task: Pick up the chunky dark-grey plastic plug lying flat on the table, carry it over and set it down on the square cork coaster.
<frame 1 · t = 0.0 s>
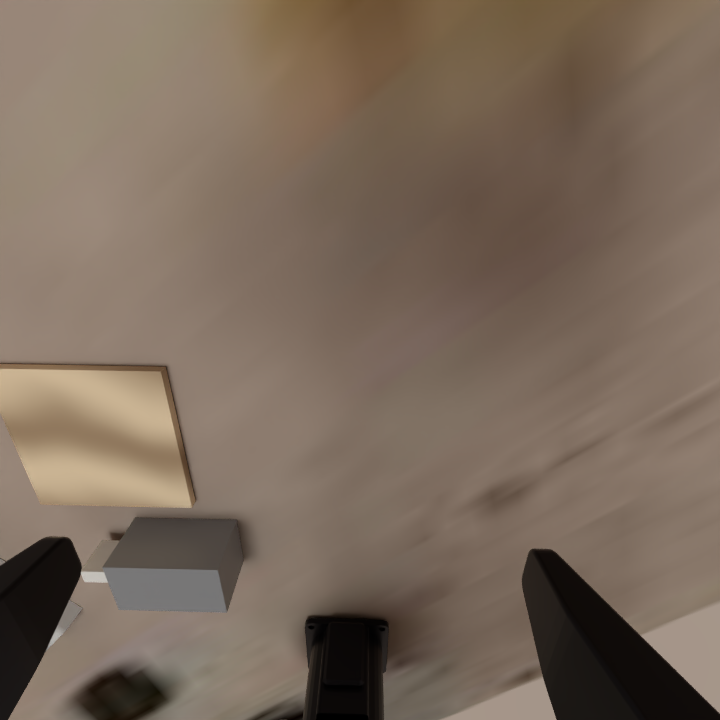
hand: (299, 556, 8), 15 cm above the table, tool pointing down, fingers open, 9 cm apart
plug: (174, 541, 26), point 2 cm above the table, tilted 90°
coaster: (101, 438, 25), on the table
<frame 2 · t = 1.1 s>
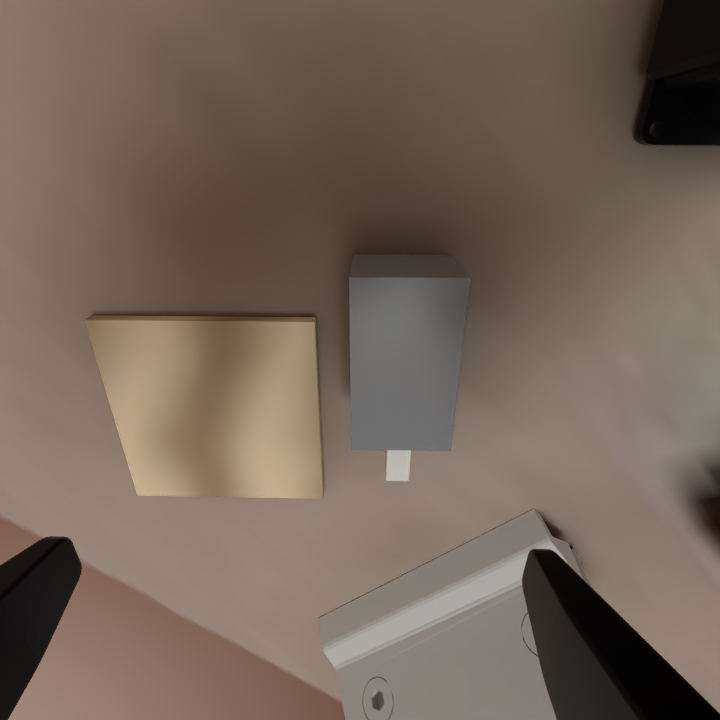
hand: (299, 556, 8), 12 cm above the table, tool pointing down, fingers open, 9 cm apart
plug: (352, 349, 17), point 2 cm above the table, tilted 90°
coaster: (220, 411, 20), on the table
hinge: (450, 595, 27), on the table
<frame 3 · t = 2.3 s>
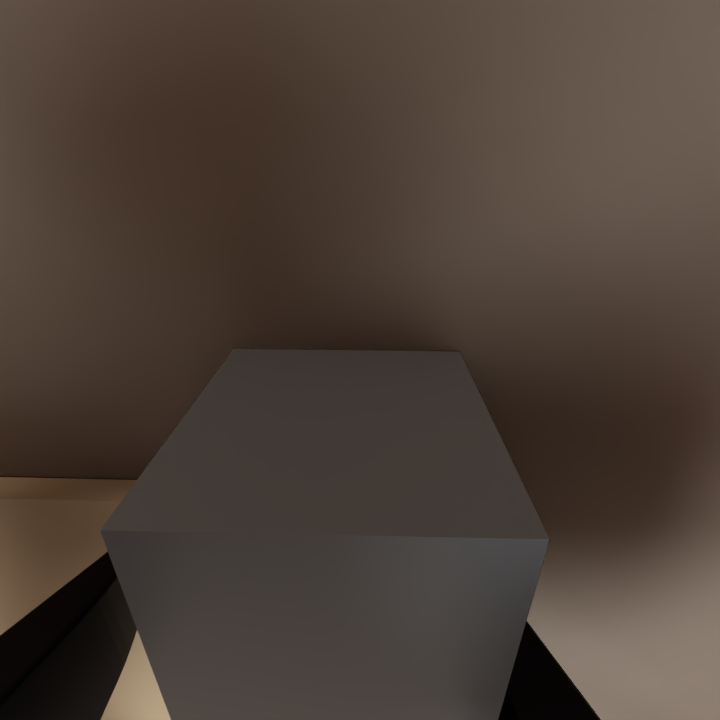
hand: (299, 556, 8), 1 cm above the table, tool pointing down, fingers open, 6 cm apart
plug: (225, 583, 7), point 2 cm above the table, tilted 90°, touching coaster, gripper
coaster: (82, 625, 11), on the table
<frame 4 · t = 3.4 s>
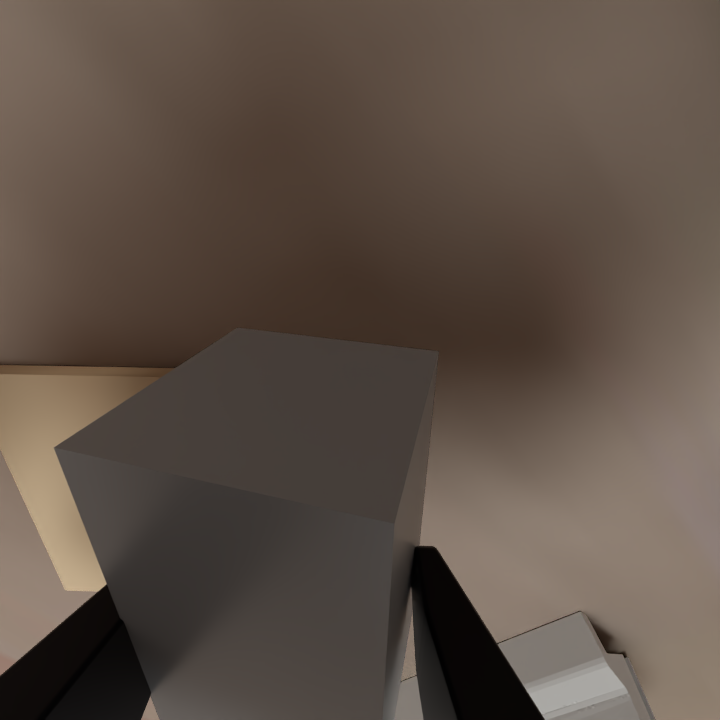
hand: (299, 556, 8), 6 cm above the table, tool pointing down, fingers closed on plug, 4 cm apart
plug: (204, 531, 8), point 6 cm above the table, tilted 76°, touching gripper
coaster: (169, 489, 15), on the table
hinge: (465, 698, 21), on the table
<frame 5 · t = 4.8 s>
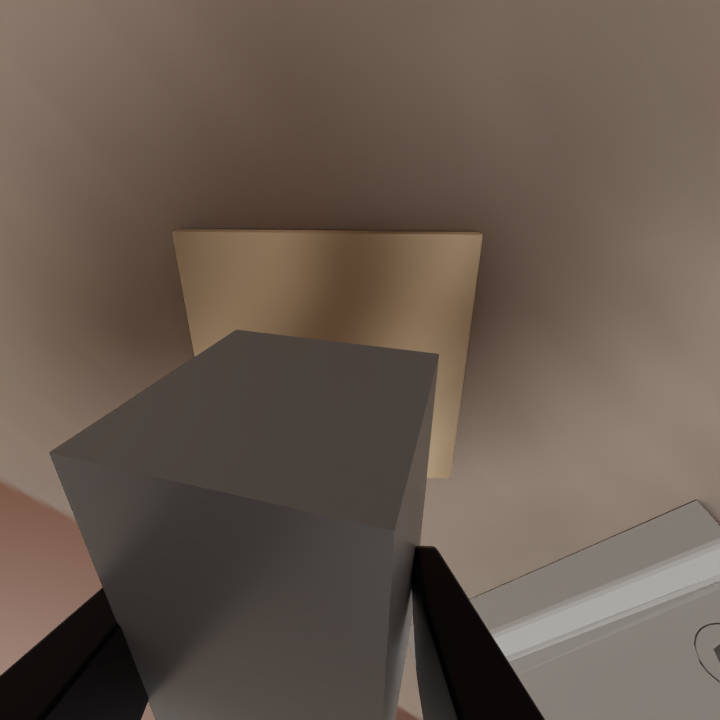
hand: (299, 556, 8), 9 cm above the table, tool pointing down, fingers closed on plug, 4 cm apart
plug: (203, 534, 8), point 9 cm above the table, tilted 76°, touching gripper
coaster: (331, 364, 16), on the table
hinge: (566, 603, 22), on the table
when the fingers open (3 cm above the table, at t = 6.1 s): plug stays where it is and tips over, resting on coaster.
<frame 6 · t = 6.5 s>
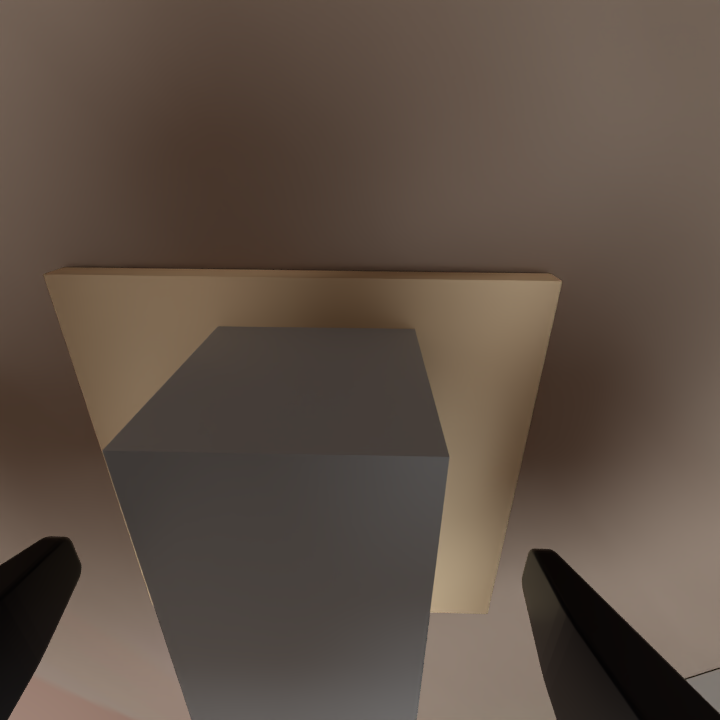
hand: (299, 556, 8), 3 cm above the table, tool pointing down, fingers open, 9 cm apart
plug: (209, 529, 8), point 3 cm above the table, tilted 90°, touching coaster
coaster: (314, 463, 11), on the table
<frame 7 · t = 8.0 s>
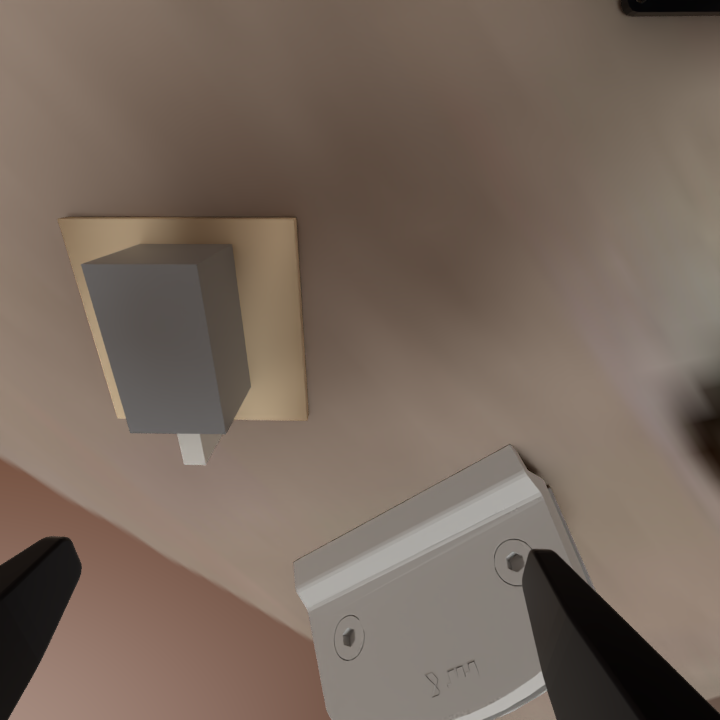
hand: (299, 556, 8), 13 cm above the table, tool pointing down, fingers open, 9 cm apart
plug: (135, 336, 17), point 3 cm above the table, tilted 90°, touching coaster
coaster: (200, 325, 20), on the table
hinge: (426, 540, 26), on the table
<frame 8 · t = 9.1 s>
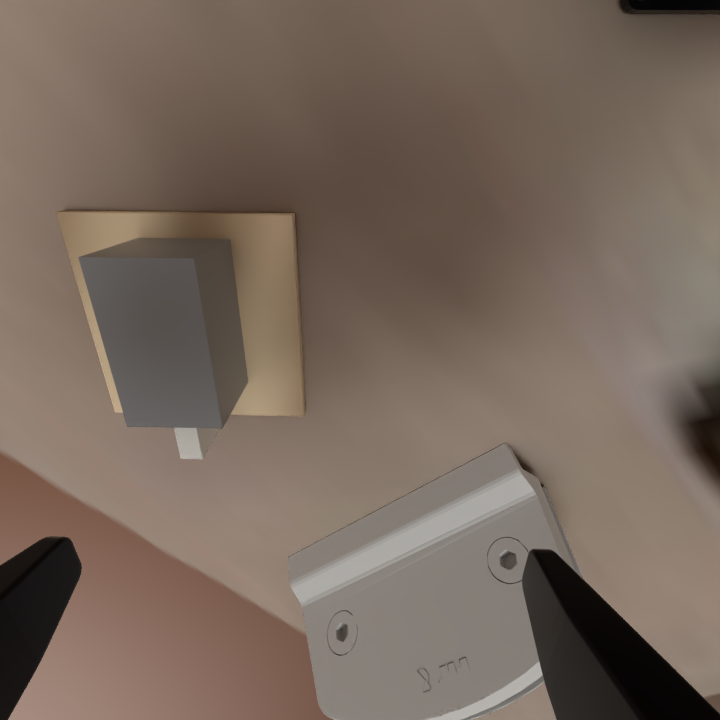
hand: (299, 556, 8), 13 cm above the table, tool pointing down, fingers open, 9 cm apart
plug: (132, 330, 17), point 3 cm above the table, tilted 90°, touching coaster
coaster: (198, 320, 20), on the table
hinge: (421, 537, 26), on the table
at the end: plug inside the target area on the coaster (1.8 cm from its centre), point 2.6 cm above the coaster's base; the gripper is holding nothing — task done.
